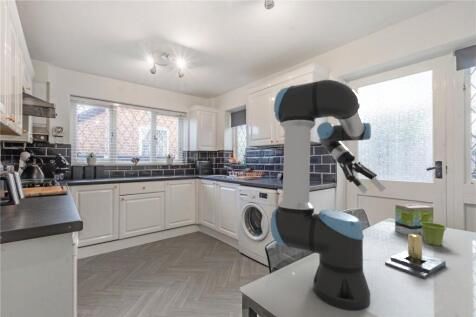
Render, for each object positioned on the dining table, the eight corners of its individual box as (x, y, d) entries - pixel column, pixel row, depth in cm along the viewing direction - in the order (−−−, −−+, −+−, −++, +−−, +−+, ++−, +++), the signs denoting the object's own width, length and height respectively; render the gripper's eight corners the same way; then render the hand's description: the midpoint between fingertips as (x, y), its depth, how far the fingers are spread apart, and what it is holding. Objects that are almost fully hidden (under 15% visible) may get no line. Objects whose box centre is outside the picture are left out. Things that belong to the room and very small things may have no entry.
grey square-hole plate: (424, 279, 74) (424, 276, 74) (385, 264, 84) (385, 261, 84) (441, 268, 81) (441, 265, 81) (403, 256, 91) (403, 254, 91)
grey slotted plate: (429, 275, 76) (429, 270, 76) (390, 262, 86) (390, 256, 86) (445, 266, 83) (445, 260, 83) (408, 254, 93) (408, 249, 93)
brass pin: (419, 268, 81) (419, 238, 81) (406, 264, 84) (406, 235, 84) (424, 266, 83) (424, 236, 83) (411, 262, 86) (411, 233, 86)
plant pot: (452, 247, 101) (452, 227, 101) (431, 247, 101) (431, 227, 101) (434, 239, 110) (434, 222, 110) (415, 239, 111) (415, 222, 111)
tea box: (412, 236, 115) (412, 208, 115) (394, 230, 124) (394, 204, 125) (434, 234, 119) (434, 206, 119) (414, 228, 128) (414, 203, 129)
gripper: (353, 162, 118) (383, 194, 105) (321, 161, 105) (351, 197, 92) (363, 151, 113) (396, 183, 100) (331, 149, 101) (364, 186, 88)
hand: (375, 190), depth 96 cm, fingers open, 13 cm apart
